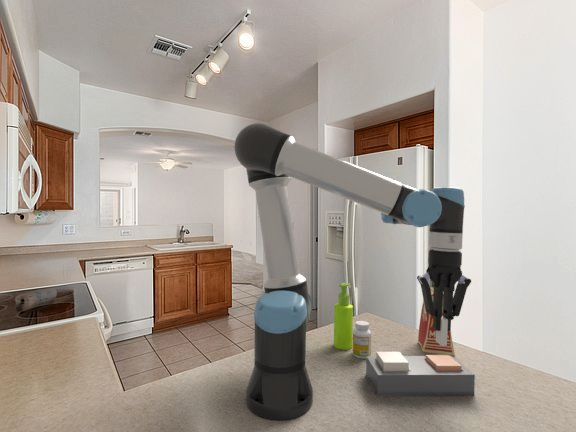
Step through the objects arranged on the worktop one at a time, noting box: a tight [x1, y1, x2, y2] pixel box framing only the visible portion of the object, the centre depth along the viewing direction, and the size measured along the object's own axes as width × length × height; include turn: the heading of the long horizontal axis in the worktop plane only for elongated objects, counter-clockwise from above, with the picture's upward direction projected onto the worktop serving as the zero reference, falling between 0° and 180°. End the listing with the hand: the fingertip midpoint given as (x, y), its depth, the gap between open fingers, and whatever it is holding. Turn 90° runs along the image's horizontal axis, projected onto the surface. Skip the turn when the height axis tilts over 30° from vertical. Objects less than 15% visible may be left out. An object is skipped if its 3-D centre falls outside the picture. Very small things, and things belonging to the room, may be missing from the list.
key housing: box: [365, 355, 476, 397], centre depth 81 cm, size 23×10×5 cm, turn 92°
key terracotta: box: [425, 354, 462, 371], centre depth 81 cm, size 6×6×4 cm
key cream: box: [375, 351, 409, 372], centre depth 81 cm, size 6×6×4 cm
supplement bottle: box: [352, 320, 372, 359], centre depth 97 cm, size 5×5×10 cm
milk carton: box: [417, 286, 456, 356], centre depth 103 cm, size 9×9×20 cm
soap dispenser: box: [333, 282, 354, 351], centre depth 104 cm, size 6×7×20 cm
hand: (441, 343), depth 81 cm, fingers closed
